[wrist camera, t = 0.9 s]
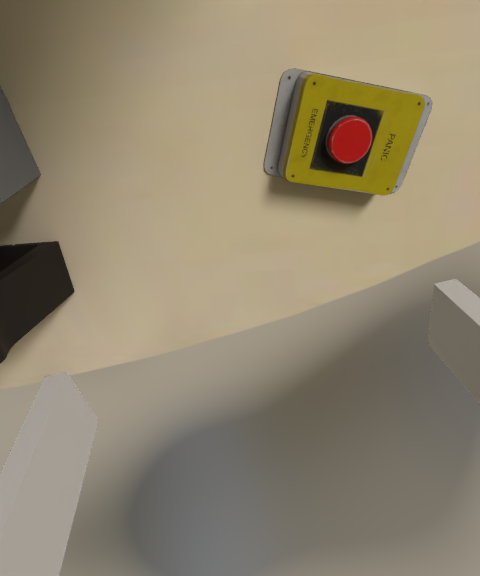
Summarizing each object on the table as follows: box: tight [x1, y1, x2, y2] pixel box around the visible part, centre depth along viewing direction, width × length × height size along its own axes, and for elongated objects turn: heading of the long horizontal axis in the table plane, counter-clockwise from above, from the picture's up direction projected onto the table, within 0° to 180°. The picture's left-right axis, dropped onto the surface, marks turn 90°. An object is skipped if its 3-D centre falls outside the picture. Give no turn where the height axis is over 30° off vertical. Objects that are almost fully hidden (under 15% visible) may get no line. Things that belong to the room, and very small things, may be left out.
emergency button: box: [264, 68, 432, 195], centre depth 33 cm, size 9×4×15 cm
